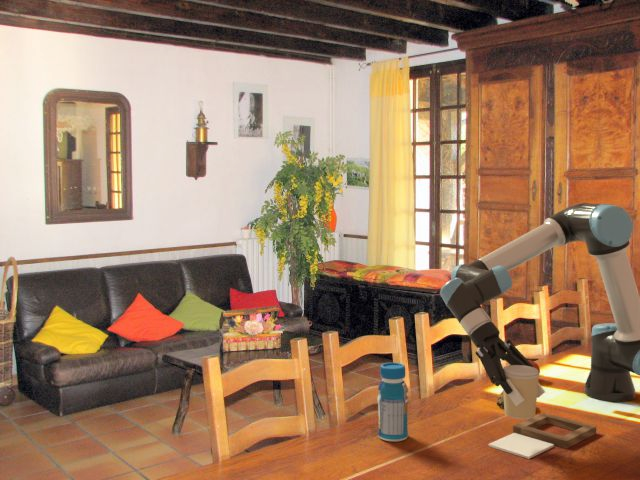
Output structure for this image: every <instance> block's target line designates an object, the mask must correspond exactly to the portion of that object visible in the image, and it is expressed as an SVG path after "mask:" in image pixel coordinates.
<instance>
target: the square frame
mask: <svg viewBox="0 0 640 480" xmlns="http://www.w3.org/2000/svg"><path fill="white" fill-rule="evenodd" d="M545 425H550V426H551V425H552V426H555V427H558V428H562V429H566V430H569V431H571V432H568V433H567V434H565V435H559V434H556V433H552V432H549V431H545V430H542V429H538V428H540V427H543V426H545ZM512 433H517V434H520V435H524V436H527V437H530V438H534V439H537V440H541V441H544V442H547V443H551V444H554V447H555V446H556V447H559V448H563V449H568V448H570V447H573V446H575V445H576V444H578V443H581V442H582V441H584V440H587V439H588V438H590V437H592V436H594V435H597V425H593V424H588V423H585V422H581V421H577V420H574V419H569V418H566V417H562V416H558V415H553V414H551V413H546V412H542V413H540V414H538V415H535V416H534V417H533V418H530V419H525V420H523V421H522V422H520V423H517V424H514V425H513V426H512Z"/></svg>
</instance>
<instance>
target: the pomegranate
mask: <svg viewBox="0 0 640 480" xmlns="http://www.w3.org/2000/svg"><path fill="white" fill-rule="evenodd" d="M526 359H527V360H528V361H529V362H530V363H531V364H532V365H533V367H534V368H536V369H537V370H538V372H539V374H540V373H541V368H540V366H539V364H538V363H537V362H535V361H533V360H532V359H528V358H526Z"/></svg>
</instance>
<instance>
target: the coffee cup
mask: <svg viewBox="0 0 640 480" xmlns="http://www.w3.org/2000/svg"><path fill="white" fill-rule="evenodd" d="M503 370H504V373H505V377H506V380H507V379H510V381H511V382H512V383H513V385H514V386H515V388H516V389H517V390H518V392H519V393H520V395H521V396H522V397H523V399H524V401H523V402H521V403H520V404H519V405H518V406H515V404H514V403H513V401H512V400H511V399H510V397H509V396H508V394H507V393H506V392H505V391H504V390H503V389H502V391H503V393H504V409H503V410H504V414H505V416H507V417H509V418H512V419H516V420H517V419H518V420H528V419H531V418H533V417H535V416H536V410H537V399H538V398H537V390H538V382H539V376H540V373H539V372H538V370H537V369H536V368H534V367H530V366H524V365H510V364H509V365H507V366H504V367H503Z"/></svg>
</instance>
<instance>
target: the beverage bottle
mask: <svg viewBox="0 0 640 480" xmlns="http://www.w3.org/2000/svg"><path fill="white" fill-rule="evenodd" d="M379 371H380V372H379V373H380V374H379V375H380V376H379V377H380V378H381V381H380V383H379V384H378V387H377V392H378V395H377V398H376V399H377V405H378V406H377V412H378V413H377V416H378V418H377V420H378V424H377V425H378V428H377V436H378V438H379V439H381V440H383V441H386V442H392V443H394V442H402V441H404V440H406V439H407V438H408V436H409V430H408V414H409V413H408V404H409V397H408V393H409V388H408V386H407V384H406V381H405V380H404V379H406V378H405V377H406V366H405V365H404V364H403V363H400V362H386V363H382V364H380V370H379Z"/></svg>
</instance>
